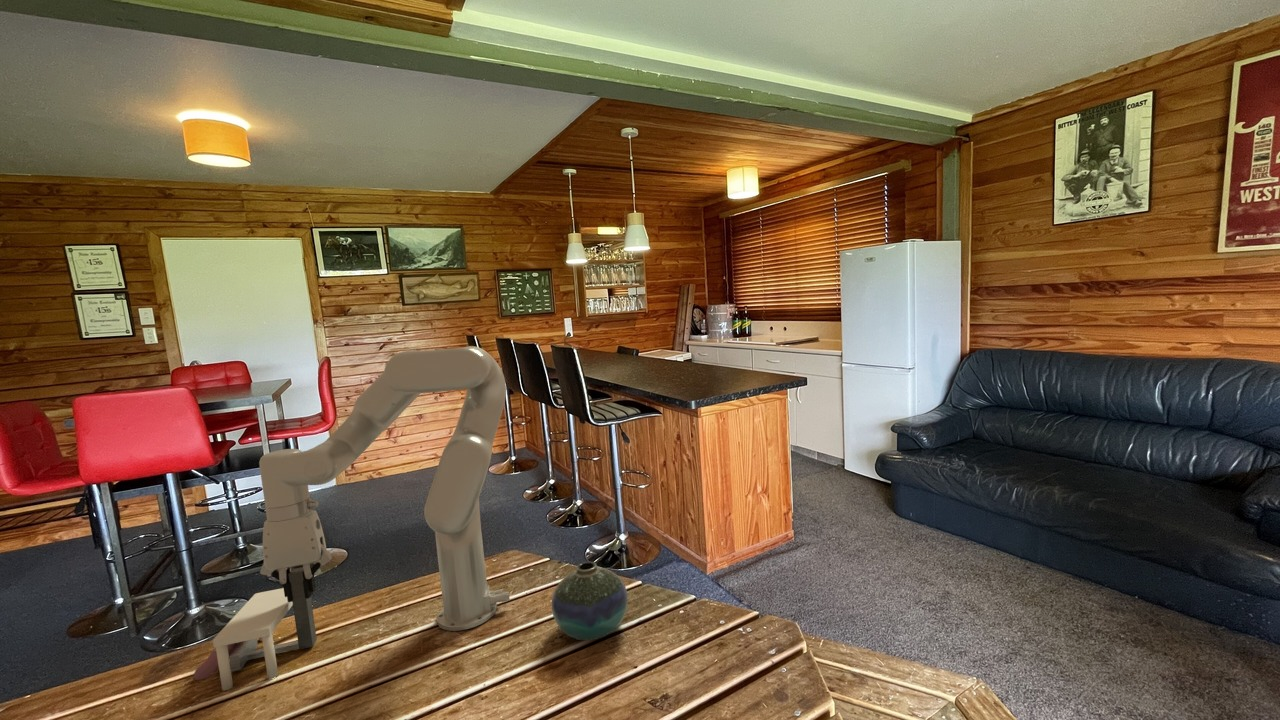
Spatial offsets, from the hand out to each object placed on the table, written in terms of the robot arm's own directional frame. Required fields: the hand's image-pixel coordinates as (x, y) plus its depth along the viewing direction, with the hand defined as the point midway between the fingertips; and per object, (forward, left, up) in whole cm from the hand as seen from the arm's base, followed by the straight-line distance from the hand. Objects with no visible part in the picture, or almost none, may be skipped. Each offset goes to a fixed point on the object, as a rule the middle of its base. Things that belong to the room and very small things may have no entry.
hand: (301, 596), depth 107 cm
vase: (-57, +18, -11) cm, 61 cm away
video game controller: (+15, -1, -11) cm, 19 cm away
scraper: (+5, 0, -10) cm, 12 cm away
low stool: (+7, 0, -11) cm, 13 cm away
